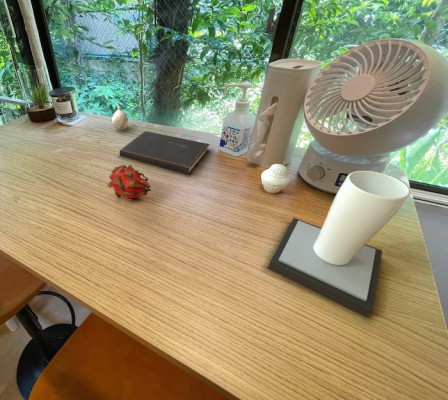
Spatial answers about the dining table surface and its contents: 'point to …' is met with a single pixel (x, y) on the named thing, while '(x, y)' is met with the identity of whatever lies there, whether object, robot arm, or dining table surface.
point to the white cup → (358, 214)
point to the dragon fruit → (128, 183)
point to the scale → (328, 269)
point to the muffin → (275, 178)
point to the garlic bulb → (120, 119)
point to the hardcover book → (165, 151)
